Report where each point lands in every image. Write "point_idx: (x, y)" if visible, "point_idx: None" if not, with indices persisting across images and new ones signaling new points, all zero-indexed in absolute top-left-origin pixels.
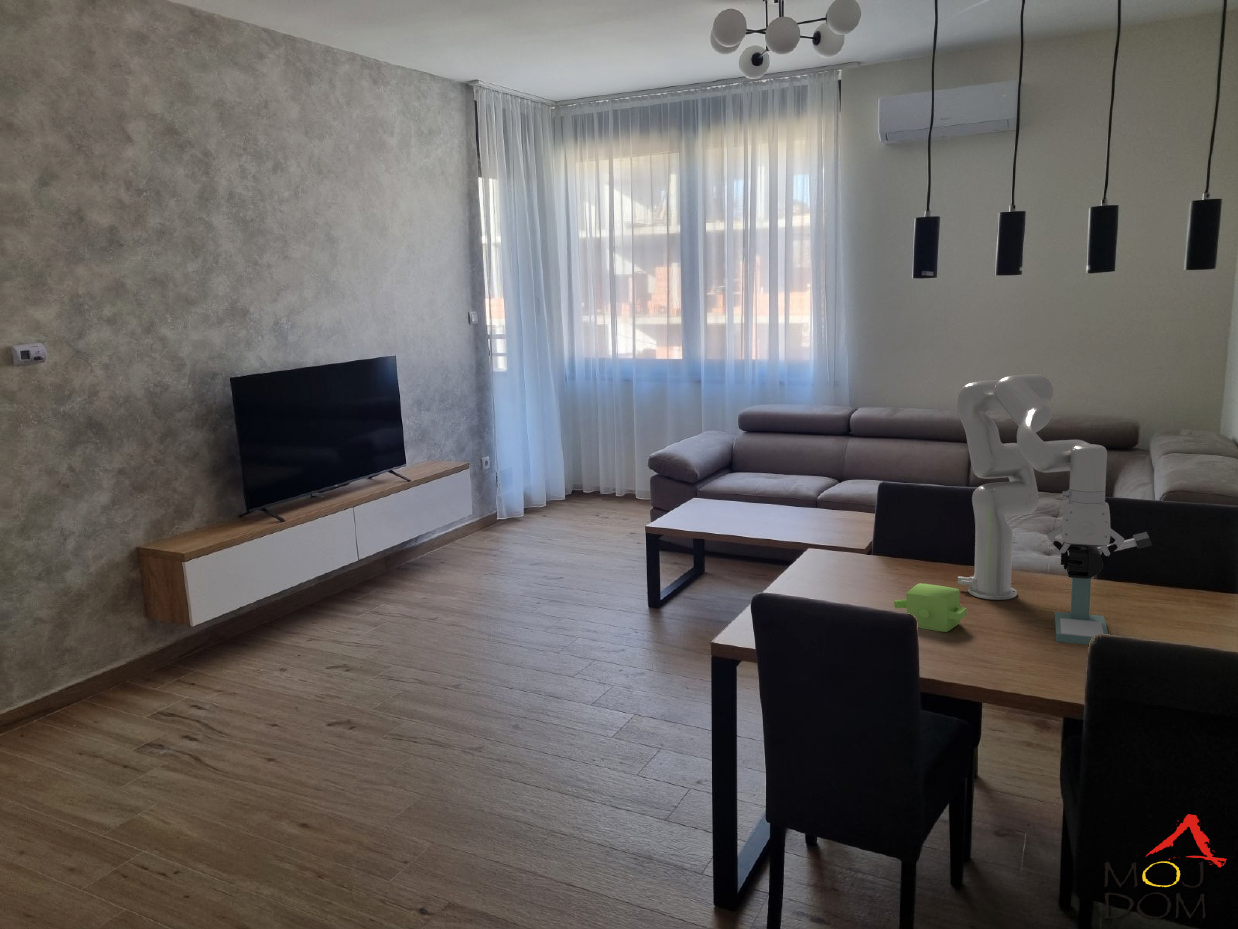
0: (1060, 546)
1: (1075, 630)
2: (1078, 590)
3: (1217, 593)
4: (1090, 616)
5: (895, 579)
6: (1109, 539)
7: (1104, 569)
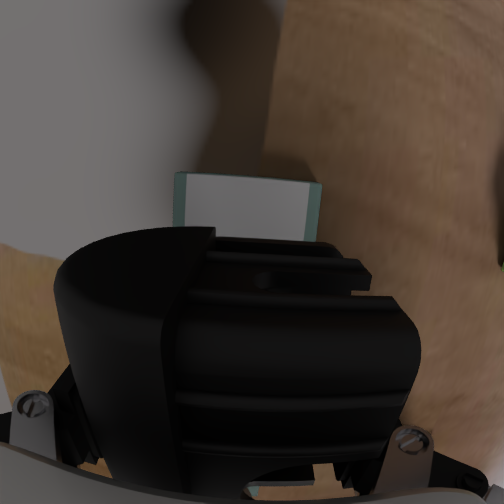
0: (434, 475)
1: (264, 216)
2: None
3: None
4: None
5: (490, 449)
6: None
7: None
